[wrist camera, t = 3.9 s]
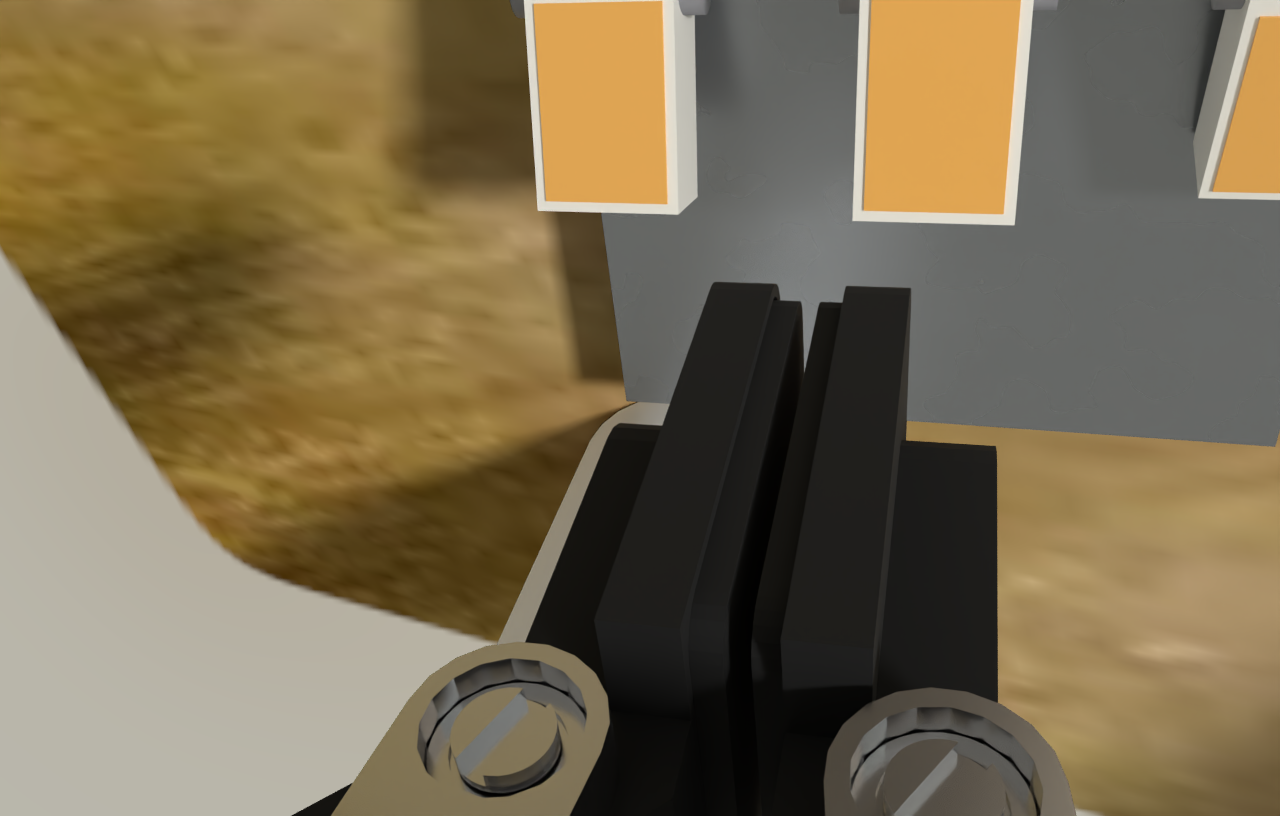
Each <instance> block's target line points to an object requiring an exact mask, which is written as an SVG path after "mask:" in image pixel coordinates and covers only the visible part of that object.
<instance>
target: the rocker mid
mask: <svg viewBox="0 0 1280 816" xmlns="http://www.w3.org/2000/svg"><path fill="white" fill-rule="evenodd" d="M838 2H839V12H840V14H859V39H858V69H857V99H856V129H855V159H854V190H853V220H852V221H874V222H910V223H946V224H982V225H1015V215H1016V204H1017V192H1018V180H1019V168H1020V156H1021V145H1022V133H1023V121H1024V109H1025V98H1026V86H1027V74H1028V62H1029V50H1030V39H1031V27H1032V15H1033V11H1056V10H1057V6H1058V0H838Z"/></svg>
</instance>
